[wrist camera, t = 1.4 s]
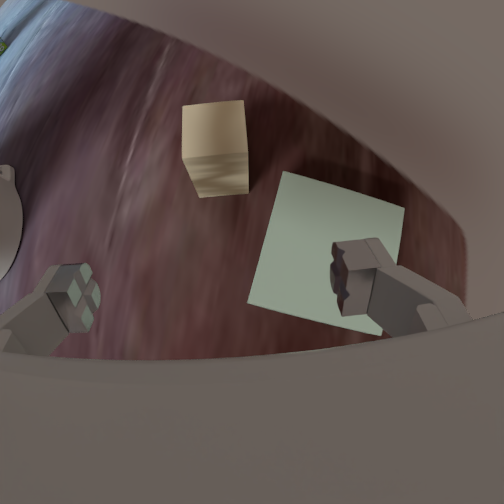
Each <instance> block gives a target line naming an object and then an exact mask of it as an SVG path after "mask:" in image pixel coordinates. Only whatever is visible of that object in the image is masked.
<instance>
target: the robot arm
mask: <svg viewBox="0 0 504 504" xmlns="http://www.w3.org/2000/svg"><path fill="white" fill-rule="evenodd" d="M22 223H23V213H22V205H21V201H20V197H19V195H18V193H17V190H16V188H15V171H14V168H13V167H12V166H9V165H0V280H1V279H2V278H3V277H4V275H5V274H6V273H7V271H8V270H9V268H10V266H11V264H12V262H13V260H14V258H15V255H16V253H17V250H18V247H19V243H20V239H21V233H22ZM331 254H332V256H333V259H334V261H333V262H332V263H331V264H330V283H331V287H332V290H333V293H335V294H336V295H337V305H338V308H339V310H340V313H341V316H342V317H345V316H354V315H363V314H367V316H368V317H370V318H371V319H372V320H373V321H374V322H375V323H377V324H378V325H379V326H380V327H381V328H382V329H384V330H385V331H386V332H387V333H388V334H389V335H391V336H392V337H393V338H389V339H383V340H378V341H372V342H366V343H360V344H353V345H347V346H340V347H333V348H326V349H318V350H310V351H301V352H292V353H282V354H272V355H260V356H247V357H232V358H215V359H192V360H99V359H78V358H62V357H48V356H49V355H50V354H51V353H52V352H53V351H54V350H55V348H56V347H57V346H58V345H59V344H60V343H61V342H62V341H63V340H64V339H65V338H66V336H67V335H68V334H69V333H80V332H89V330H90V327H91V325H92V322H93V320H94V317H93V315H92V314H93V313H94V312H95V311H96V310H97V309H98V307H99V304H100V290H99V287H98V285H97V283H96V282H95V281H94V280H93V279H91V276H92V271H91V269H90V266H89V265H88V264H86V263H76V264H63V265H62V264H60V265H52V266H50V267H49V268H48V269H47V271H46V273H45V274H44V276H43V277H42V279H41V280H40V282H39V283H38V285H37V286H36V288H35V290H34V291H33V293H32V294H28V295H27V296H25V297H24V298H23V299H21V300H20V301H19V302H17V303H16V304H15V305H13V306H12V307H11V308H9V309H8V310H7V311H5V312H4V313H3V314H1V315H0V504H504V312H501V313H498V314H494V315H490V316H487V317H483V318H479V319H475V320H473V319H472V317H471V316H470V314H469V313H468V311H467V309H466V308H465V306H464V305H463V303H462V302H461V300H460V299H459V297H457V296H456V295H454V294H452V293H450V292H449V291H447V290H445V289H443V288H441V287H440V286H438V285H436V284H434V283H432V282H431V281H429V280H427V279H425V278H423V277H421V276H420V275H418V274H416V273H414V272H412V271H410V270H408V269H407V268H405V267H403V266H397V265H396V264H395V262H394V261H393V259H392V257H391V256H390V254H389V253H388V251H387V250H386V248H385V247H384V245H383V244H382V242H381V241H380V239H379V238H377V237H374V238H366V239H359V240H349V241H339V242H333V244H332V249H331Z"/></svg>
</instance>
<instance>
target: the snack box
mask: <svg viewBox="0 0 504 504" xmlns="http://www.w3.org/2000/svg"><path fill="white" fill-rule="evenodd" d="M6 48H7V45H6V44H5V43H4V41H3V40H2V39H1V38H0V55H1V54H2V53H3V52H4V51H5V49H6Z"/></svg>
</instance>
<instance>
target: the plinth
mask: <svg viewBox="0 0 504 504" xmlns="http://www.w3.org/2000/svg"><path fill="white" fill-rule="evenodd" d="M404 209H405V208H403V207H400V206H397V205H394V204H391V203H388V202H385V201H382V200H379V199H376V198H373V197H370V196H367V195H364V194H361V193H358V192H354V191H351V190H348V189H345V188H342V187H338V186H335V185H332V184H328V183H325V182H321V181H318V180H314V179H311V178H307V177H304V176H300V175H296V174H293V173H289V172H285V171H283V174H282V177H281V181H280V185H279V189H278V192H277V196H276V200H275V203H274V207H273V211H272V214H271V218H270V222H269V226H268V229H267V233H266V237H265V240H264V244H263V248H262V251H261V255H260V258H259V262H258V266H257V269H256V273H255V277H254V280H253V284H252V288H251V291H250V295H249V298H248V302H247V303H248V304H252V305H256V306H259V307H263V308H267V309H271V310H274V311H278V312H282V313H286V314H290V315H294V316H297V317H301V318H305V319H309V320H313V321H317V322H321V323H326V324H330V325H334V326H338V327H342V328H346V329H351V330H355V331H359V332H364V333H369V334H374V335H380V336H381V333H382V328H381V327H380V326H379V325H378V324H377V323H375V322H374V321H373V320H372V319H371V318H370V317H368V316H367V314H363V315H354V316H345V317H342V316H341V313H340V310H339V308H338V305H337V295H336V294H335V293H333V290H332V287H331V283H330V264H331V263H332V262H333V261H334V259H333V256H332V254H331V249H332V244H333V242H339V241H349V240H359V239H366V238H374V237H377V238H379V239H380V241H381V242H382V244H383V245H384V247H385V248H386V250H387V251H388V253H389V254H390V256H391V257H392V259H393V261H394V262H395V264H396V263H397V257H398V251H399V245H400V239H401V232H402V225H403V217H404Z"/></svg>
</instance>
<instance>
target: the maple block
mask: <svg viewBox="0 0 504 504" xmlns="http://www.w3.org/2000/svg"><path fill="white" fill-rule="evenodd" d="M182 160H183V162H184V164H185V166H186V169H187V171H188V173H189V175H190V178H191V180H192V182H193V184H194V187H195V189H196V191H197V193H198V195H199V198H201V197H212V196H223V195H235V194H248V193H249V171H248V145H247V134H246V123H245V111H244V100H238V101H226V102H215V103H205V104H196V105H188V106H183V116H182Z"/></svg>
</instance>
